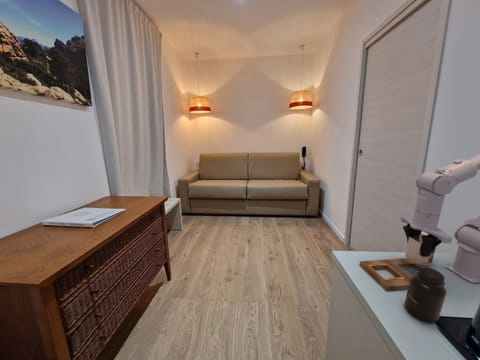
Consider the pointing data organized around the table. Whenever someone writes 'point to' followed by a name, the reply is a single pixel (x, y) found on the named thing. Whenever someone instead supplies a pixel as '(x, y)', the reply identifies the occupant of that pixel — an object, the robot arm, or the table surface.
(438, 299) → the supplement bottle
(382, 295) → the table surface
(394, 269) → the wooden shape sorting board
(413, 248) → the beige rectangular block
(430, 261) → the pill bottle
